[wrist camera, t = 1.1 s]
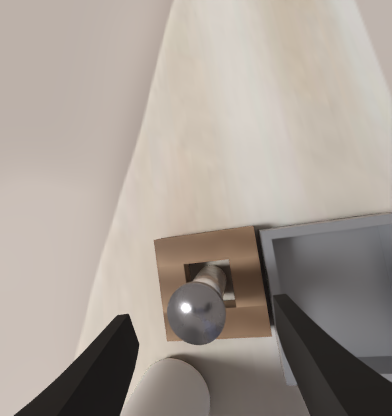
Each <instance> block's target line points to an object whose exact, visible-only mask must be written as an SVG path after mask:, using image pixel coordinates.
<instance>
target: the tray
mask: <svg viewBox="0 0 392 416" xmlns="http://www.w3.org/2000/svg"><path fill="white" fill-rule="evenodd" d="M258 231H259V237H260V243H261V249H262V255H263V261H264V267H265V273H266V279H267V285H268V291H269V296H270V302H271V308H272V314H273V320H274V326H275V332H276V338H277V344H278V350H279V356H280V362H281V366H282V369H283V373H284V376H285V380H286V384H287V385H297V382H296V380H295V378H294V375H293V373H292V371H291V368H290V366H289V364H288V361H287V359H286V357H285V354H284V352H283V349H282V346H281V343H280V340H279V336H278V333H277V330H276V322H275V313H274V304H273V295H278V294H287V295H288V296H289V297H290V298H291V299H292V300H293V301H294V302H295V303H296V304H297V305H298V306H299V307H300V308H301V309H302V310H303V311H304V312H305V313H306V314H307V315H308V316H309V317H310V318H311V319H312V320H313V321H314V322H315V323H316V324H317V325H318V326H320V327H321V328H322V329H323V330H324V331H325V332H326V333H327V334H329V335H330V336H331V337H332V338H333V339H334V340H336V341H337V342H338V343H339V344H340V345H342V346H343V347H344V348H345V349H347V350H348V351H349V352H350V353H352V354H353V355H354V356H355V357H357V358H358V359H359V360H361V361H362V362H364V363H365V364H366V365H368V366H369V367H370V368H372V369H373V370H375V371H376V372H377V373H379V374H380V375H382V376H383V377H385V378H386V379H387V380H389V381H391V382H392V213H377V214H370V215H363V216H355V217H348V218H341V219H333V220H326V221H319V222H311V223H304V224H297V225H290V226H282V227H275V228H268V229H260V230H258Z"/></svg>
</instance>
